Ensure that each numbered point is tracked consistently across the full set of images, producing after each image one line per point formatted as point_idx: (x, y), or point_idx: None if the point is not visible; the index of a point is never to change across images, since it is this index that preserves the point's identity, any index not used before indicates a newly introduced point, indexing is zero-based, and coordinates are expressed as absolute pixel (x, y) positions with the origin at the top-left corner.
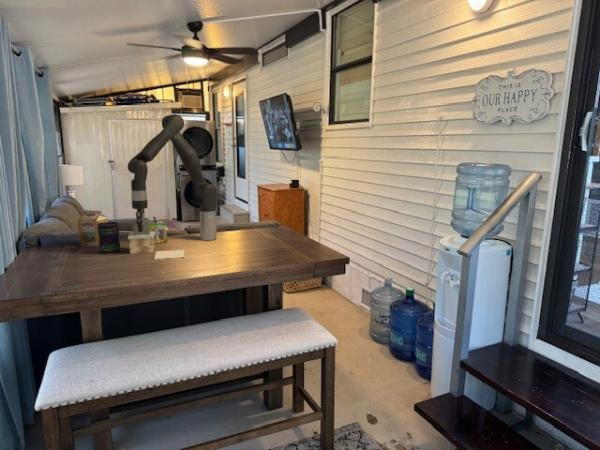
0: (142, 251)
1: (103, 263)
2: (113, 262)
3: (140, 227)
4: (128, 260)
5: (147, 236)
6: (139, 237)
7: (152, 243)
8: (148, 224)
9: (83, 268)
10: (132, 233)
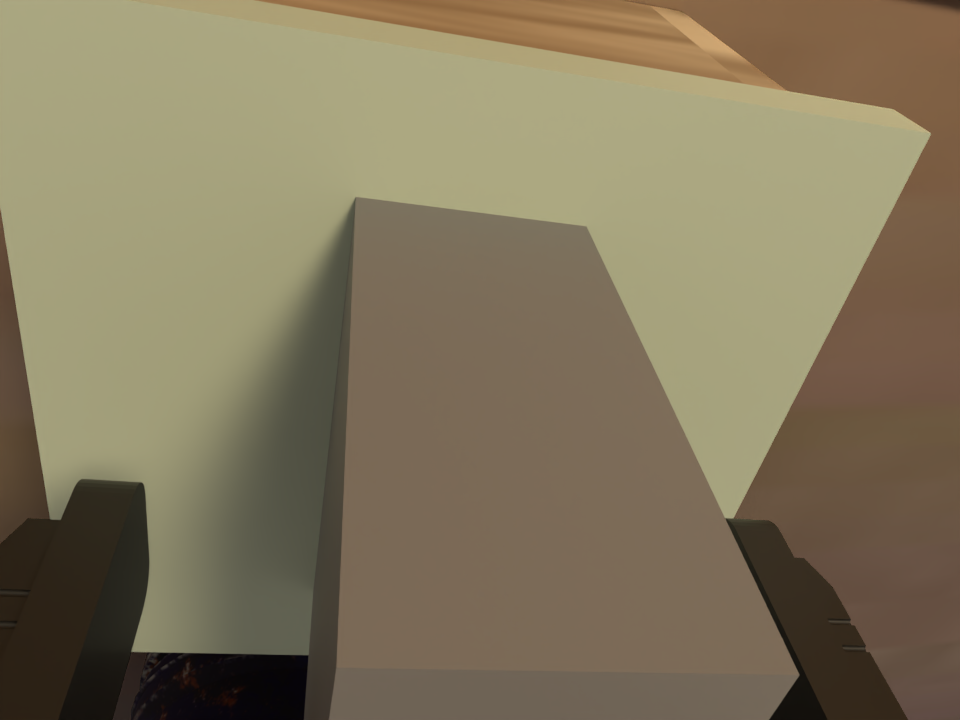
0: None
1: (850, 609)
2: (882, 538)
3: (865, 687)
4: (917, 402)
5: (846, 295)
6: (743, 463)
7: (747, 72)
8: (705, 519)
9: (905, 709)
10: (242, 615)
